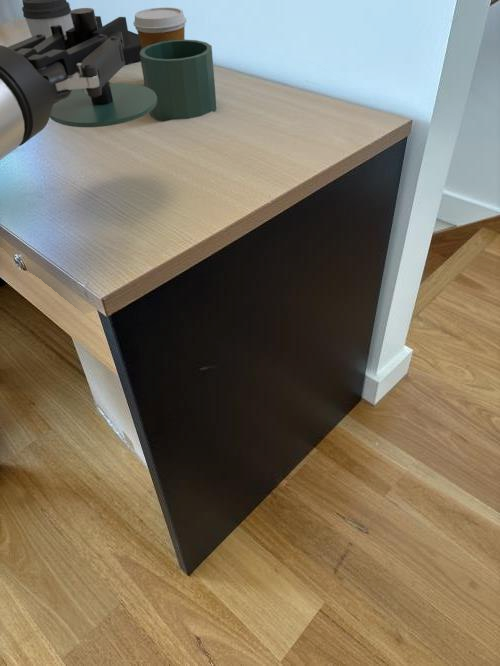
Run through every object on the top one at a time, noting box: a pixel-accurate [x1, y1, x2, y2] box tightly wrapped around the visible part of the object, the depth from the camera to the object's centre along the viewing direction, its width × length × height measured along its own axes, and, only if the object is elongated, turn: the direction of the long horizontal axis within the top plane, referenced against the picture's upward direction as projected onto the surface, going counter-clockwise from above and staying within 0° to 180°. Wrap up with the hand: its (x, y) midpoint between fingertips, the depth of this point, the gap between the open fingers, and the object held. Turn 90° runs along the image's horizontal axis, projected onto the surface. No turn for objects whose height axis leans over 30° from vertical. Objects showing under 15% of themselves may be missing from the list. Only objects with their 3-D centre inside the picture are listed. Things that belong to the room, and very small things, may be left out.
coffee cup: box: [21, 0, 74, 39], centre depth 94 cm, size 8×8×15 cm
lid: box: [49, 7, 157, 128], centre depth 56 cm, size 12×12×10 cm
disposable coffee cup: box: [132, 6, 187, 49], centre depth 95 cm, size 10×10×12 cm
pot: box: [140, 39, 217, 122], centre depth 86 cm, size 12×12×10 cm
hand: (112, 30), depth 58 cm, fingers closed on lid, 2 cm apart
